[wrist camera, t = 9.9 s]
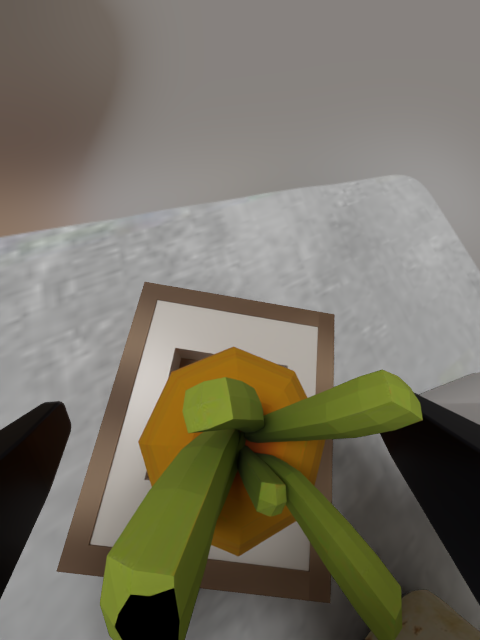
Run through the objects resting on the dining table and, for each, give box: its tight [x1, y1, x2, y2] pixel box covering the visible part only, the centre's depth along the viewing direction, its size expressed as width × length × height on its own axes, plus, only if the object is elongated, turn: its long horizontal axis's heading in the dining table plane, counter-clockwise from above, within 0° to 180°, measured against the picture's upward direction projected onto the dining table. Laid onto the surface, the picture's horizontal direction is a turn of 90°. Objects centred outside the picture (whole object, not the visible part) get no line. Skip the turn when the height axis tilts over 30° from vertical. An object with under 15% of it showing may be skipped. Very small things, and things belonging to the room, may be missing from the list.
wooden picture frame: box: [90, 300, 318, 571], centre depth 15 cm, size 12×10×3 cm
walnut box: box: [57, 282, 334, 603], centre depth 15 cm, size 14×12×4 cm
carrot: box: [100, 346, 423, 640], centre depth 9 cm, size 5×5×15 cm
